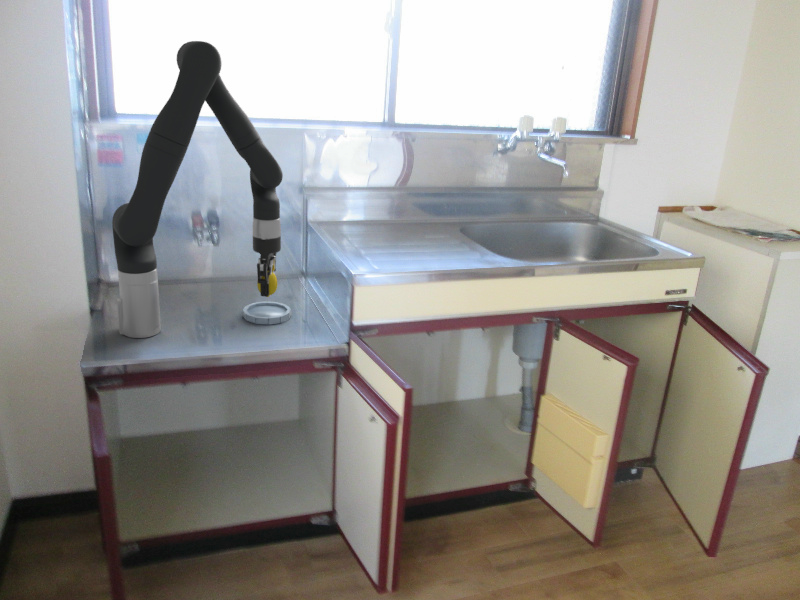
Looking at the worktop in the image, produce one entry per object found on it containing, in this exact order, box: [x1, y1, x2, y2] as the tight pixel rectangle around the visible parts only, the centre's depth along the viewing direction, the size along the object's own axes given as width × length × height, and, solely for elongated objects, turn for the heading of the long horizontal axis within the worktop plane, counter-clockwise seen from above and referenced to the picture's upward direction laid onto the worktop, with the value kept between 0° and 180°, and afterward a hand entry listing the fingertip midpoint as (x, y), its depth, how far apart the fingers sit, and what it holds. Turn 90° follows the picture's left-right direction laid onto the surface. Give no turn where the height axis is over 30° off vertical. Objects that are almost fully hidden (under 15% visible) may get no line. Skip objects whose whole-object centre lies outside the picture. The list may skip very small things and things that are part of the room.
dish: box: [242, 301, 292, 325], centre depth 189 cm, size 13×13×2 cm
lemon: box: [256, 271, 278, 298], centre depth 186 cm, size 6×6×8 cm
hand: (267, 292), depth 187 cm, fingers closed on lemon, 5 cm apart
